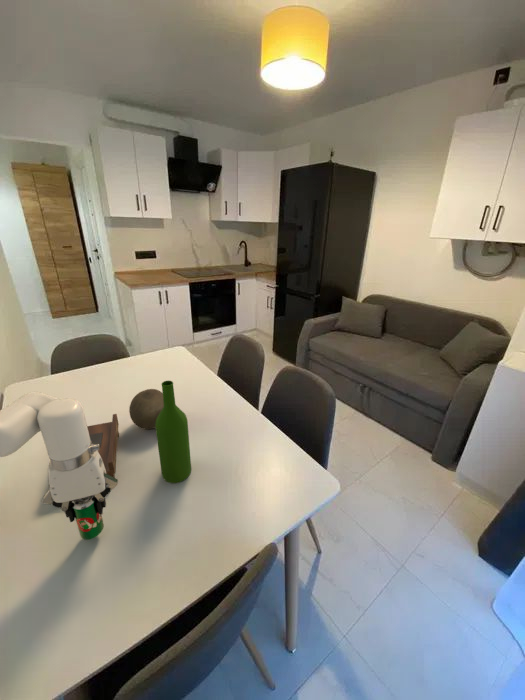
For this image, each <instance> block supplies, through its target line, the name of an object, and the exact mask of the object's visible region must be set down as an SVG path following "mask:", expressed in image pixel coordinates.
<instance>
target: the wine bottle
mask: <svg viewBox="0 0 525 700" xmlns="http://www.w3.org/2000/svg"><path fill="white" fill-rule="evenodd" d="M161 390H162V391H161V392H162V393H163V402H164V407H163V409H162V411H161V412H160V414H159V415H158V417H157V419H156V424H155V428H154V429H155V435H156V441H157V449H158V455H159V456H158V457H159V463H160V470H161V476H162V479H163V480H164V482H167V483H170V484H177V483H178V484H179V483H181V482H184V481H185V480H187V479H188V477H189V476H190V475H191V472H192V461H191V460H192V459H191V449H190V437H189V436H190V435H189V425H188V424H189V423H188V422H189V421H188V418H187V415H186V413H185V412H184V411H183V410H182V409H180V408H179V406H177V404H176V396H175V388H174V382H173V381H172V380H164V381H162V382H161Z"/></svg>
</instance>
